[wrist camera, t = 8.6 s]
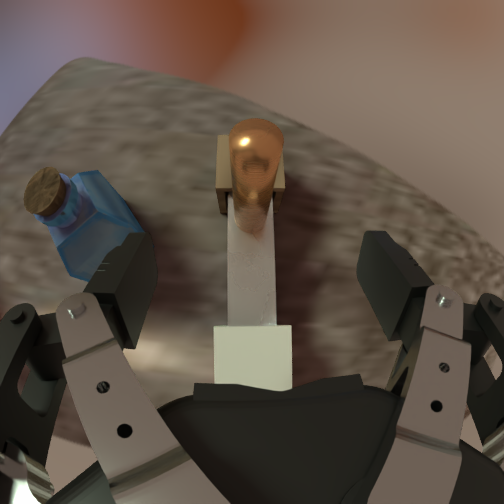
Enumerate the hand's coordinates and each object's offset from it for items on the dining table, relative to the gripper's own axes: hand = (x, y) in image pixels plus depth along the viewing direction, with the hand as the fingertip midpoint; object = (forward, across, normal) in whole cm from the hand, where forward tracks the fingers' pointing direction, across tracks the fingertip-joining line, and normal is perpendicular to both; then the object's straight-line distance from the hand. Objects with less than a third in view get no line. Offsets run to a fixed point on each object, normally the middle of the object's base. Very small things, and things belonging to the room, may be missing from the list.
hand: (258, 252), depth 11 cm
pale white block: (+5, 0, +15) cm, 16 cm away
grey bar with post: (+11, 0, +8) cm, 14 cm away
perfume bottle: (+14, +13, +7) cm, 20 cm away
